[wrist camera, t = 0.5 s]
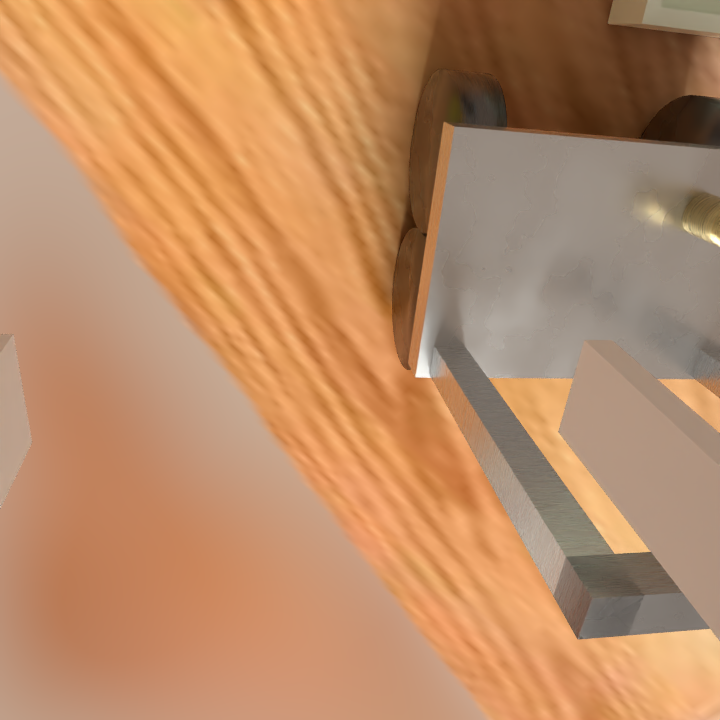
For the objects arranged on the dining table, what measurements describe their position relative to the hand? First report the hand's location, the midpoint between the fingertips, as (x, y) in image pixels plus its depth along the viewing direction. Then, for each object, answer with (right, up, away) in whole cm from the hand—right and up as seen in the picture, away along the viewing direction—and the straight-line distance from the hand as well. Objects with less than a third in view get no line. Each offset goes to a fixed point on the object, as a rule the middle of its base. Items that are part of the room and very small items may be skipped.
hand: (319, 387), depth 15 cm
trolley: (+12, +9, +25) cm, 29 cm away
